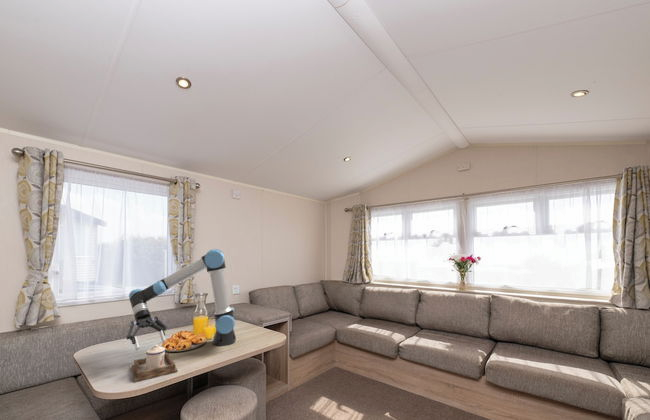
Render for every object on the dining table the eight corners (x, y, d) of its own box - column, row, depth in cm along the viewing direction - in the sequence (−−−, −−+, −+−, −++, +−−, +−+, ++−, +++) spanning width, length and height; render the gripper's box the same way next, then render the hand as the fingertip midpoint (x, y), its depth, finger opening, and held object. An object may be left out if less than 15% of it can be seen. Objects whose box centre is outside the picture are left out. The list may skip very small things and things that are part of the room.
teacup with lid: (164, 369, 155) (165, 346, 157) (144, 372, 151) (145, 349, 152) (164, 361, 166) (165, 339, 167) (146, 364, 162) (147, 342, 163)
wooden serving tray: (169, 359, 173) (170, 352, 173) (177, 372, 155) (177, 364, 156) (131, 367, 161) (132, 360, 162) (135, 382, 144) (135, 374, 144)
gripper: (161, 312, 183) (171, 342, 173) (114, 321, 164) (123, 355, 153) (165, 305, 181) (176, 335, 170) (119, 313, 161) (127, 347, 150)
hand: (151, 345), depth 161 cm, fingers open, 13 cm apart
